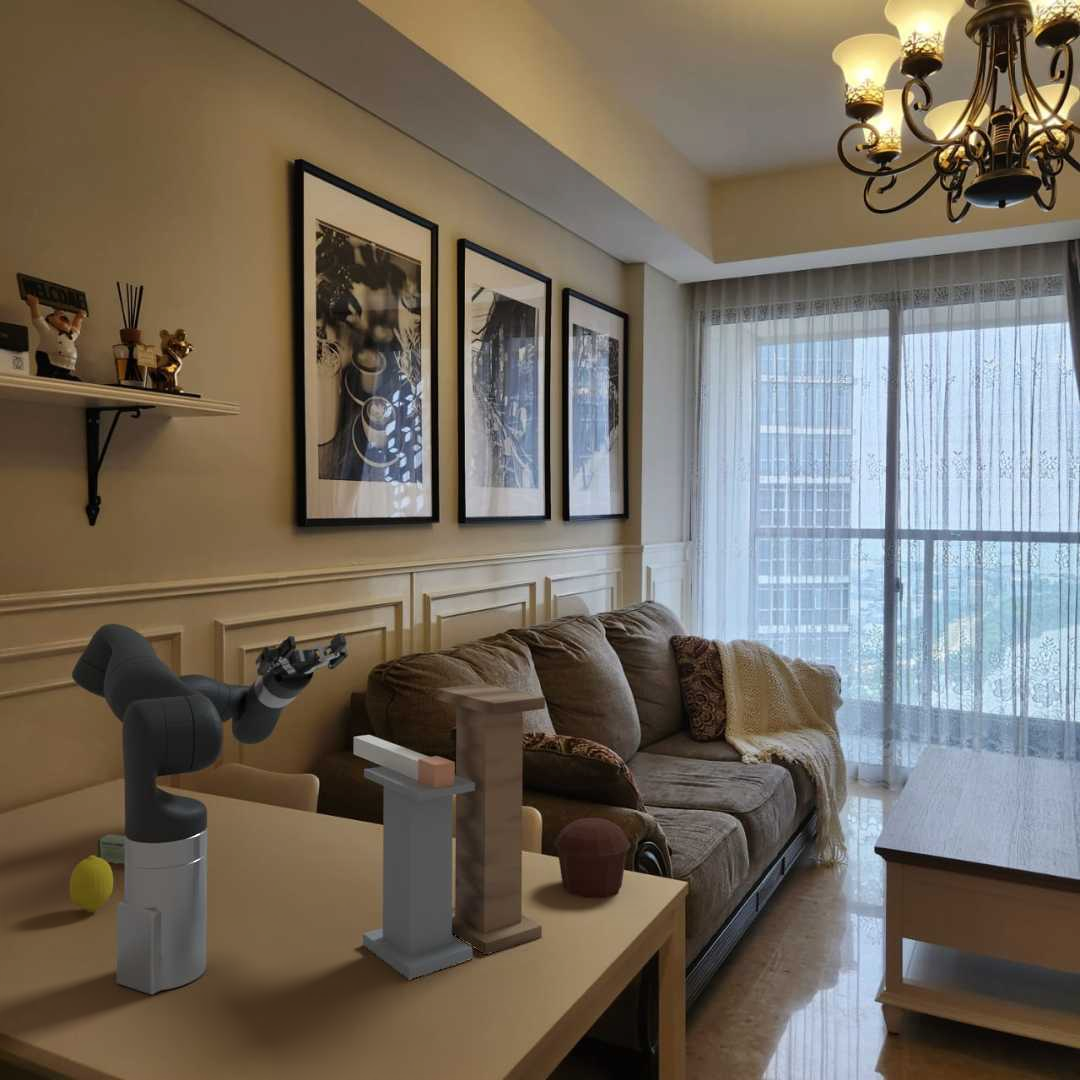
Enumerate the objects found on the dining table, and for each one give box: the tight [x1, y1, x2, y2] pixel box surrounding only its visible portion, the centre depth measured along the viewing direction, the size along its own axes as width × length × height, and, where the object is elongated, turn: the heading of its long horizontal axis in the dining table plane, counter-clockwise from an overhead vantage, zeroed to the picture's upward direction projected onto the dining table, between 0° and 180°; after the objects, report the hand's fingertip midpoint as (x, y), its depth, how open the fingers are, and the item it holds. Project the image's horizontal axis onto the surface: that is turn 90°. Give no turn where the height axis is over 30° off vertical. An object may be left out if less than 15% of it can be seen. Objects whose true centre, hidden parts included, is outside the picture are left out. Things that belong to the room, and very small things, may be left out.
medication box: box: [97, 833, 125, 864], centre depth 150 cm, size 12×3×4 cm, turn 77°
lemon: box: [68, 854, 114, 914], centre depth 130 cm, size 6×6×8 cm
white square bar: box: [353, 734, 456, 788], centre depth 122 cm, size 22×3×3 cm, turn 38°
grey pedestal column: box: [362, 766, 475, 980], centre depth 118 cm, size 14×9×22 cm, turn 38°
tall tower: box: [436, 683, 546, 955], centre depth 125 cm, size 14×9×32 cm, turn 38°
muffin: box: [553, 817, 632, 899], centre depth 141 cm, size 12×11×10 cm
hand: (318, 639), depth 149 cm, fingers open, 8 cm apart
